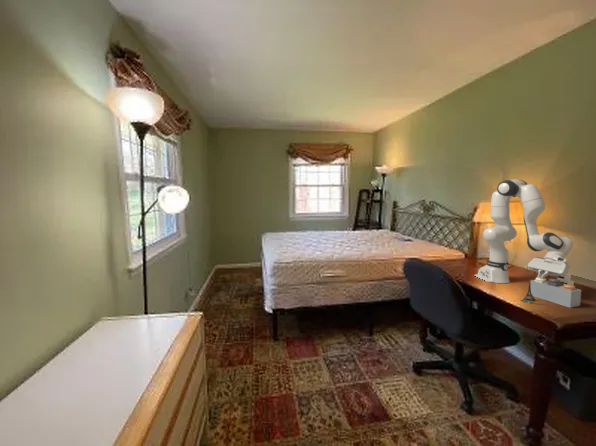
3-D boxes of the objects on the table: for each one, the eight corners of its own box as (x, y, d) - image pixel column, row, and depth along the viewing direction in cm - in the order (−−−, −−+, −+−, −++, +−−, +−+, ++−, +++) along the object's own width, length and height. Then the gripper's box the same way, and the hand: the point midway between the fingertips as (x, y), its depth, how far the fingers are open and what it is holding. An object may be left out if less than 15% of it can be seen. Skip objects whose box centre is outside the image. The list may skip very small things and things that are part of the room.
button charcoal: (546, 291, 179) (547, 279, 178) (552, 290, 180) (553, 278, 180) (555, 294, 175) (556, 281, 174) (561, 293, 176) (562, 280, 175)
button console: (529, 294, 187) (529, 280, 186) (538, 293, 190) (539, 279, 189) (570, 307, 166) (571, 291, 165) (580, 305, 169) (581, 289, 168)
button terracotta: (560, 298, 172) (561, 284, 171) (566, 297, 174) (567, 283, 173) (570, 300, 168) (571, 287, 167) (576, 299, 169) (577, 286, 168)
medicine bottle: (553, 290, 195) (554, 272, 193) (559, 288, 197) (561, 270, 196) (566, 293, 188) (567, 274, 187) (573, 292, 191) (574, 273, 189)
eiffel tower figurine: (510, 296, 187) (511, 275, 186) (528, 296, 186) (529, 275, 185) (527, 305, 172) (528, 282, 171) (546, 305, 171) (547, 282, 170)
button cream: (533, 290, 186) (533, 277, 186) (538, 289, 188) (539, 276, 187) (541, 292, 182) (542, 279, 181) (547, 291, 183) (547, 279, 182)
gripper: (532, 253, 195) (520, 269, 193) (569, 260, 175) (556, 278, 173) (537, 259, 196) (525, 276, 194) (574, 267, 177) (561, 285, 175)
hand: (540, 277), depth 184 cm, fingers closed
